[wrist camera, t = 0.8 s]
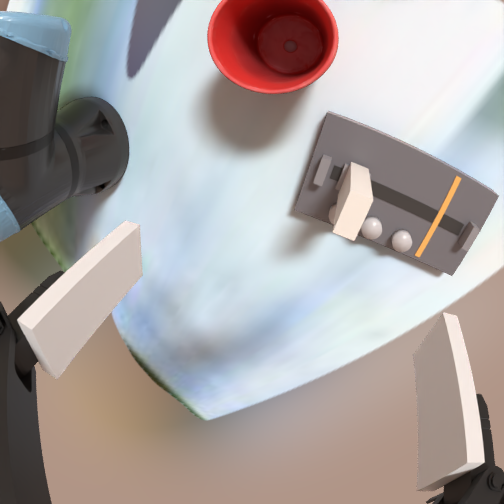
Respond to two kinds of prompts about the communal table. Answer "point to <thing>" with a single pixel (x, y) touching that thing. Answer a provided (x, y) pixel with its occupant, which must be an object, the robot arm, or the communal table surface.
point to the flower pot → (272, 43)
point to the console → (398, 193)
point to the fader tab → (352, 200)
